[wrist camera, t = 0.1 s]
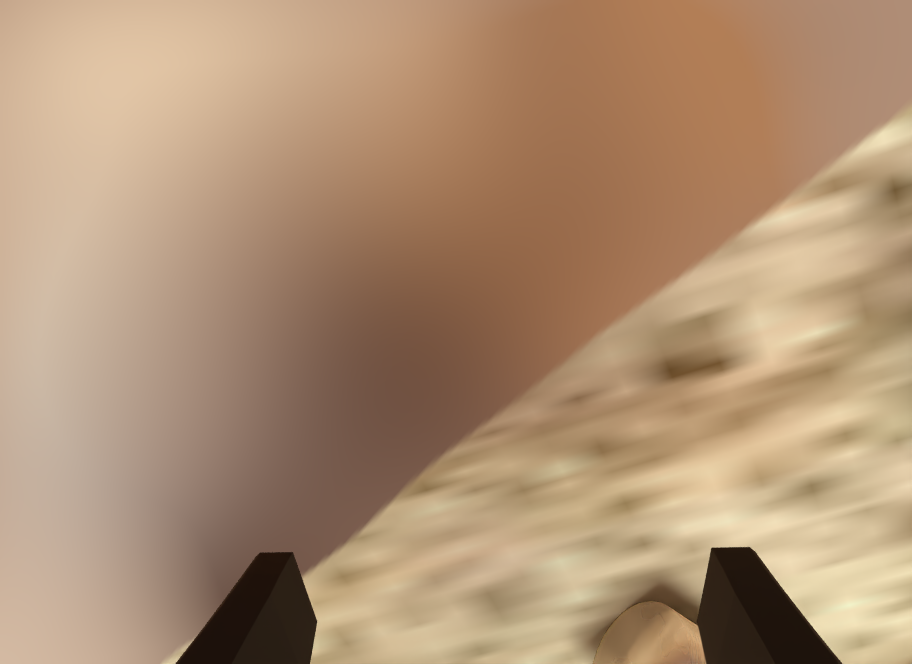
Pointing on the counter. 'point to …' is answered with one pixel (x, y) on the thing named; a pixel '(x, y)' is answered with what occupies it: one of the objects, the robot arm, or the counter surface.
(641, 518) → the counter surface
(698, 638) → the tube
